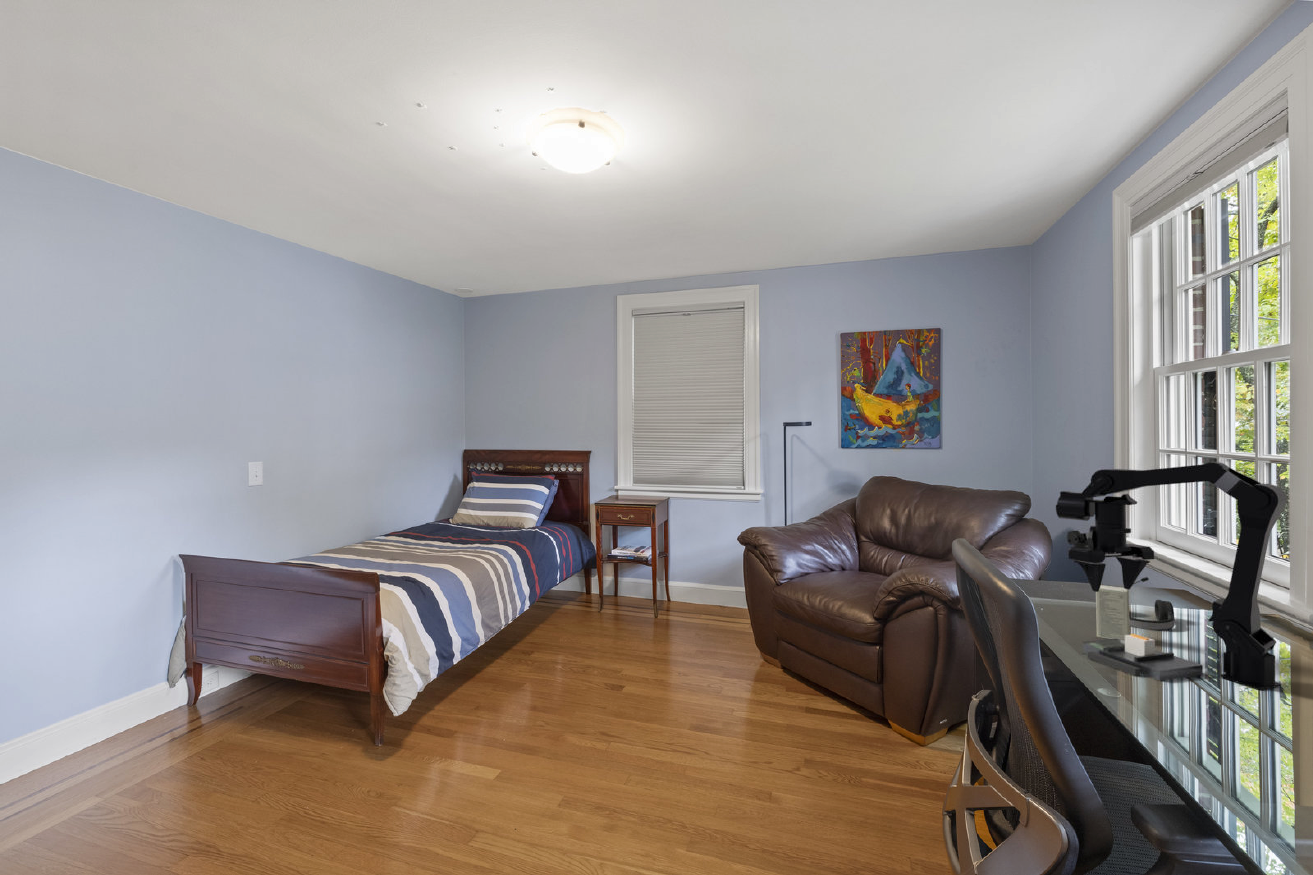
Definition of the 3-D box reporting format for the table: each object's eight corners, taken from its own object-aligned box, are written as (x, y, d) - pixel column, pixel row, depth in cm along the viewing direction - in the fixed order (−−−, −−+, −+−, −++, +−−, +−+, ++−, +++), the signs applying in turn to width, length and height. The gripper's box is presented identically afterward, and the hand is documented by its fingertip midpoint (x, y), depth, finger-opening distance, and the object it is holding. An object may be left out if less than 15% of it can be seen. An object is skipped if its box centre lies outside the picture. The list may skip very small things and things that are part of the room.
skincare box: (1130, 638, 142) (1130, 588, 142) (1128, 643, 139) (1128, 591, 139) (1097, 632, 147) (1097, 583, 147) (1095, 636, 144) (1095, 587, 144)
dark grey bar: (1140, 675, 120) (1140, 668, 120) (1135, 676, 120) (1135, 669, 120) (1092, 657, 130) (1092, 651, 130) (1087, 658, 129) (1087, 652, 129)
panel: (1202, 674, 120) (1202, 661, 120) (1159, 680, 117) (1159, 666, 117) (1122, 647, 136) (1122, 635, 136) (1082, 652, 133) (1082, 640, 133)
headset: (1172, 579, 160) (1176, 603, 145) (1172, 613, 161) (1176, 641, 146) (1110, 572, 169) (1107, 594, 154) (1110, 604, 170) (1107, 629, 154)
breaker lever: (1154, 656, 125) (1154, 638, 125) (1144, 657, 124) (1144, 639, 124) (1135, 650, 129) (1135, 632, 129) (1124, 651, 128) (1124, 633, 128)
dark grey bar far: (1122, 646, 137) (1122, 640, 137) (1089, 650, 134) (1089, 644, 134) (1116, 644, 138) (1116, 638, 138) (1083, 648, 136) (1083, 642, 136)
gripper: (1108, 517, 147) (1109, 580, 146) (1047, 520, 142) (1048, 584, 142) (1155, 523, 136) (1156, 591, 136) (1090, 526, 131) (1091, 596, 131)
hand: (1111, 590), depth 136 cm, fingers open, 9 cm apart
